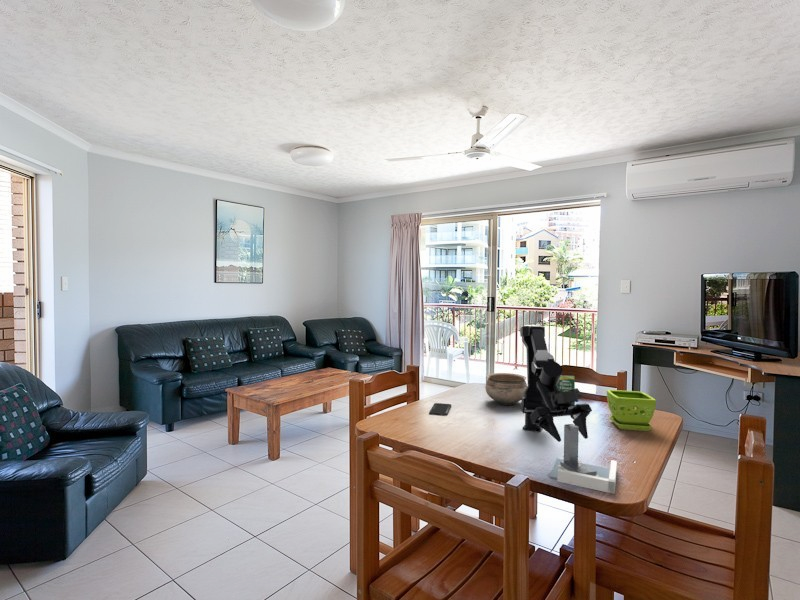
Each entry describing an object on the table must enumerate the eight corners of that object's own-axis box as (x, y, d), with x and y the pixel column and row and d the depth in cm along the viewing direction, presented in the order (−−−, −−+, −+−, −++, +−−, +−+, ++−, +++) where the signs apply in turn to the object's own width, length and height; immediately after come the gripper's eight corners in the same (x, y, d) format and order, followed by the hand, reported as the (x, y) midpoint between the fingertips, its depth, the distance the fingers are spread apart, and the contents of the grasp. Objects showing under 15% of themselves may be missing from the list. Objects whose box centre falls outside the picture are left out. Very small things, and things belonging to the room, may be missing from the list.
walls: (565, 461, 129) (565, 451, 129) (616, 471, 122) (616, 461, 122) (557, 481, 115) (557, 470, 115) (614, 493, 109) (614, 482, 109)
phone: (451, 404, 189) (447, 413, 174) (451, 406, 189) (447, 416, 175) (434, 402, 191) (428, 412, 176) (434, 405, 191) (428, 415, 176)
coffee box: (555, 404, 193) (556, 375, 192) (555, 402, 196) (556, 374, 195) (574, 405, 190) (575, 377, 190) (574, 404, 193) (574, 375, 192)
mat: (556, 459, 130) (556, 458, 130) (610, 470, 123) (610, 468, 123) (549, 477, 118) (549, 475, 118) (608, 490, 111) (608, 488, 111)
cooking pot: (523, 413, 179) (524, 384, 178) (479, 407, 186) (479, 380, 186) (530, 399, 202) (531, 373, 201) (491, 394, 209) (491, 370, 209)
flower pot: (656, 434, 154) (657, 399, 153) (615, 431, 156) (616, 397, 156) (642, 422, 167) (643, 390, 167) (604, 419, 170) (605, 388, 170)
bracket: (559, 464, 125) (560, 425, 125) (575, 462, 127) (576, 423, 126) (579, 477, 117) (580, 435, 116) (596, 475, 118) (597, 433, 118)
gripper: (536, 380, 125) (559, 429, 115) (588, 377, 131) (614, 423, 120) (521, 400, 133) (541, 447, 123) (570, 396, 138) (594, 441, 128)
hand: (573, 439), depth 123 cm, fingers open, 9 cm apart
